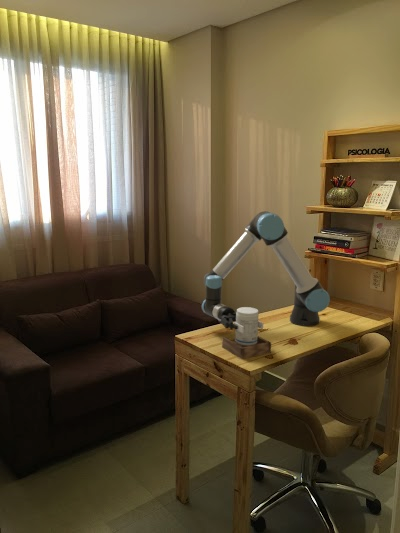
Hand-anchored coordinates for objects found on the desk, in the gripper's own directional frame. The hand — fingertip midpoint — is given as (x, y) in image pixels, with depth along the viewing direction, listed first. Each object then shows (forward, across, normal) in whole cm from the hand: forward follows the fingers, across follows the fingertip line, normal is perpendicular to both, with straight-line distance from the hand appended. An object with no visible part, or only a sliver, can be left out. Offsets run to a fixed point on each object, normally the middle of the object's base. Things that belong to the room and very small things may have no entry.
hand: (253, 328), depth 191 cm
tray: (-4, 0, -11) cm, 12 cm away
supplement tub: (-4, 0, -8) cm, 9 cm away
